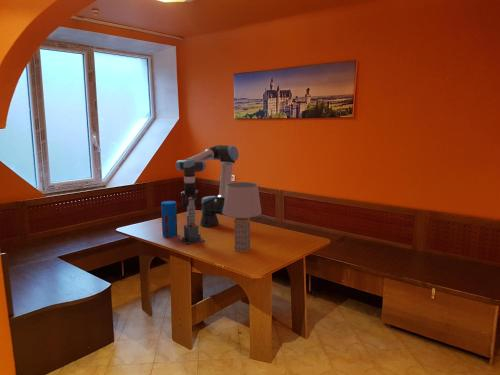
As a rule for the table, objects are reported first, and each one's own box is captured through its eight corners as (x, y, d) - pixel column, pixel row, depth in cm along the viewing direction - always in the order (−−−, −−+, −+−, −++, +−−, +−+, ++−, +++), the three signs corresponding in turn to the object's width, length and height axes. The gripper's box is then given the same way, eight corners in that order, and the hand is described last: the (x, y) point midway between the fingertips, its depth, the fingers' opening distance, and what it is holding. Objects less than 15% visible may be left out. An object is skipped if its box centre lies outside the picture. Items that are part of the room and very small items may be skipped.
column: (193, 228, 279) (192, 196, 274) (196, 230, 274) (195, 198, 270) (186, 229, 276) (185, 197, 272) (189, 231, 272) (188, 199, 267)
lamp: (264, 244, 267) (265, 182, 259) (257, 257, 243) (257, 188, 235) (229, 242, 272) (228, 180, 264) (218, 254, 248) (217, 187, 240)
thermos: (174, 238, 282) (172, 204, 278) (160, 237, 284) (158, 203, 280) (179, 233, 293) (178, 201, 288) (166, 232, 295) (164, 200, 290)
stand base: (196, 236, 286) (195, 219, 284) (204, 241, 275) (204, 223, 272) (178, 239, 278) (177, 222, 276) (186, 245, 267) (185, 226, 265)
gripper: (198, 180, 277) (199, 212, 281) (175, 182, 267) (177, 215, 272) (203, 181, 271) (204, 214, 275) (180, 184, 261) (181, 218, 265)
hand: (190, 215), depth 273 cm, fingers closed on column, 4 cm apart
